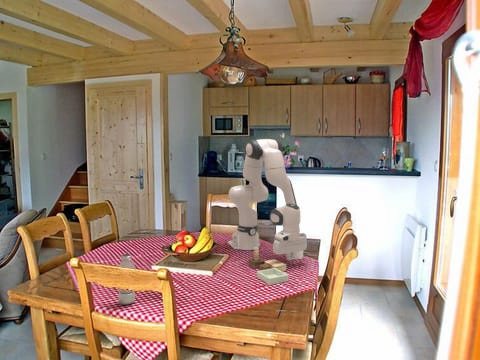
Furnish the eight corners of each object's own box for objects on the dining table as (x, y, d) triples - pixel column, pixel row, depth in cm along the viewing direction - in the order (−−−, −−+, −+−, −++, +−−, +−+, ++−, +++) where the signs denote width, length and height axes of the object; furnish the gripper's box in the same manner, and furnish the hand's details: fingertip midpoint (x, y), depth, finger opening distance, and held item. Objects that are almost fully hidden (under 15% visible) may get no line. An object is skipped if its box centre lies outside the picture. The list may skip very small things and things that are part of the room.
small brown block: (259, 270, 196) (259, 265, 195) (266, 269, 198) (266, 263, 197) (263, 273, 192) (263, 267, 192) (270, 271, 194) (270, 266, 194)
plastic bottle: (120, 299, 158) (119, 252, 155) (136, 299, 158) (136, 252, 156) (116, 306, 151) (115, 257, 149) (133, 306, 152) (133, 257, 150)
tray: (256, 277, 186) (256, 271, 186) (275, 273, 191) (275, 267, 191) (269, 285, 176) (269, 278, 176) (288, 281, 182) (288, 275, 182)
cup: (296, 260, 213) (297, 243, 212) (280, 255, 221) (281, 238, 220) (305, 257, 218) (306, 240, 217) (289, 253, 227) (290, 236, 226)
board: (263, 268, 200) (264, 261, 199) (274, 266, 203) (274, 259, 203) (274, 274, 191) (275, 266, 191) (286, 272, 195) (286, 264, 194)
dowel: (252, 266, 201) (253, 247, 200) (256, 265, 202) (257, 247, 201) (255, 267, 199) (255, 248, 198) (259, 266, 200) (259, 248, 199)
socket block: (248, 266, 202) (248, 259, 201) (257, 264, 204) (258, 257, 204) (254, 270, 196) (254, 262, 196) (263, 268, 199) (264, 260, 199)
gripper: (302, 231, 209) (301, 255, 211) (271, 235, 199) (270, 260, 201) (310, 234, 204) (308, 258, 206) (279, 238, 194) (277, 264, 195)
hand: (289, 259), depth 203 cm, fingers closed
